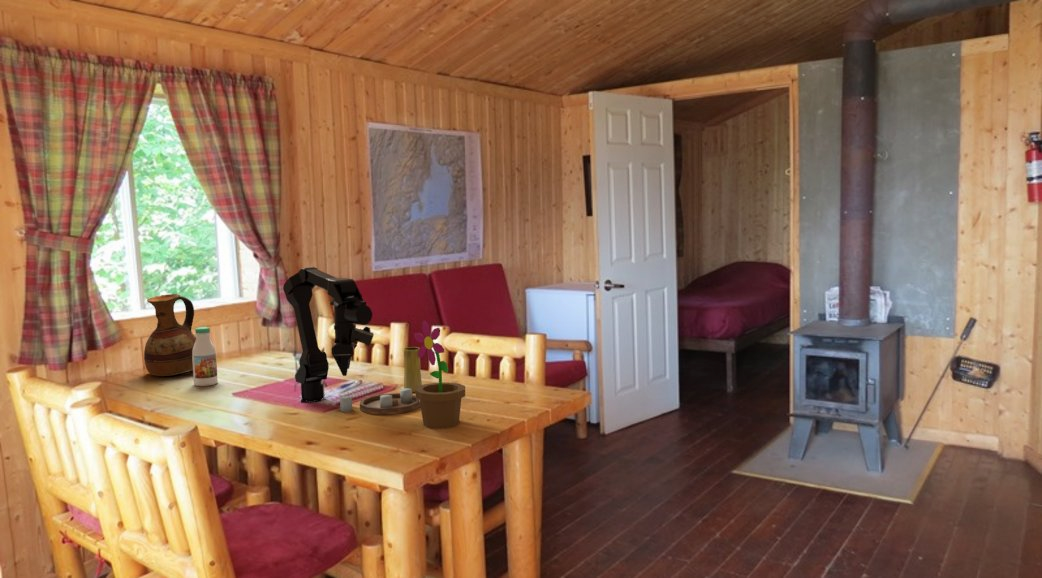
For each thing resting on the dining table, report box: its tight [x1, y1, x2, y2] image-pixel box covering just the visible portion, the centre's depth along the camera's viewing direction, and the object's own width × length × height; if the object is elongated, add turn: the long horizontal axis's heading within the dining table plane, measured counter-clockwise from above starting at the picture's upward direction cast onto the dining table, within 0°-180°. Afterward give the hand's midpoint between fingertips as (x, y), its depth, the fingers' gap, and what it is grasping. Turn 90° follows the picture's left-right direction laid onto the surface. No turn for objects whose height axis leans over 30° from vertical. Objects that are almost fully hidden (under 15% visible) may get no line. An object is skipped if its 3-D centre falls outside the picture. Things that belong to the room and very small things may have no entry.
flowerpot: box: [413, 320, 466, 430], centre depth 217 cm, size 14×14×30 cm
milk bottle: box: [192, 326, 219, 387], centre depth 269 cm, size 8×8×20 cm
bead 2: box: [380, 395, 393, 408], centre depth 232 cm, size 4×4×4 cm
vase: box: [403, 346, 423, 394], centre depth 256 cm, size 6×6×14 cm
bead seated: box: [399, 387, 413, 404], centre depth 239 cm, size 4×4×4 cm
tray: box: [359, 392, 421, 416], centre depth 237 cm, size 18×18×2 cm
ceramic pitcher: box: [143, 293, 197, 377], centre depth 286 cm, size 20×20×30 cm
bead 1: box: [339, 395, 354, 413], centre depth 233 cm, size 4×4×4 cm
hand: (346, 372), depth 232 cm, fingers open, 9 cm apart
